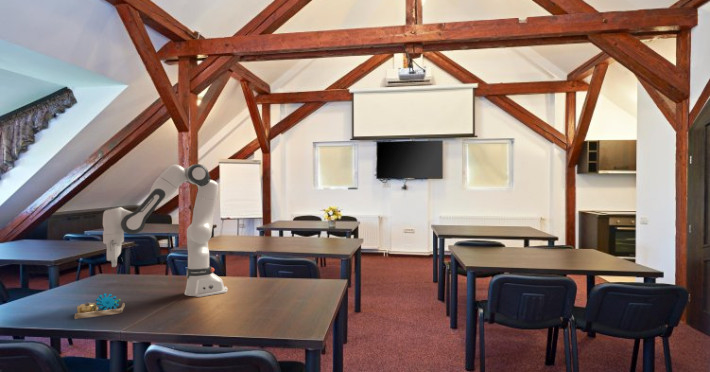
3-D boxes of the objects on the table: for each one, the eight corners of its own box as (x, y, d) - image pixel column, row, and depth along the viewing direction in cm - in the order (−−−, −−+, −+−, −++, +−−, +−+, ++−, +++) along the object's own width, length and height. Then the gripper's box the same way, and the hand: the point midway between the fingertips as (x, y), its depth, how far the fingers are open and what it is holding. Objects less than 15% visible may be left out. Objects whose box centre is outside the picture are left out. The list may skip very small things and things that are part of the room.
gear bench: (124, 305, 184) (124, 301, 184) (121, 313, 173) (121, 308, 173) (80, 310, 176) (80, 306, 176) (74, 318, 165) (74, 314, 165)
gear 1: (98, 308, 178) (98, 299, 178) (95, 312, 171) (95, 303, 171) (79, 310, 175) (79, 301, 175) (75, 315, 168) (75, 305, 168)
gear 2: (100, 311, 171) (94, 293, 175) (93, 319, 172) (88, 301, 177) (124, 308, 180) (118, 291, 185) (118, 315, 182) (112, 298, 186)
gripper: (118, 241, 180) (118, 269, 180) (123, 236, 199) (124, 262, 199) (102, 242, 178) (103, 271, 178) (109, 237, 196) (110, 263, 196)
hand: (114, 266), depth 188 cm, fingers closed
